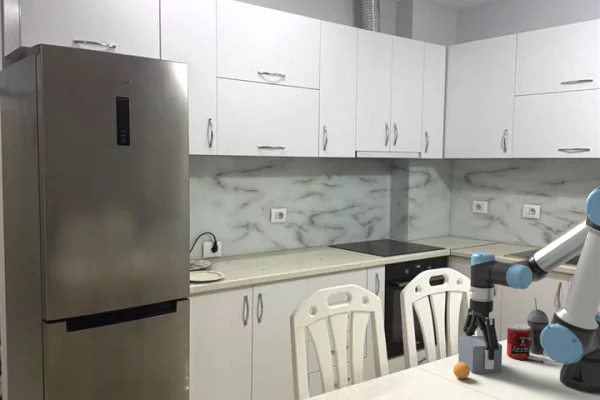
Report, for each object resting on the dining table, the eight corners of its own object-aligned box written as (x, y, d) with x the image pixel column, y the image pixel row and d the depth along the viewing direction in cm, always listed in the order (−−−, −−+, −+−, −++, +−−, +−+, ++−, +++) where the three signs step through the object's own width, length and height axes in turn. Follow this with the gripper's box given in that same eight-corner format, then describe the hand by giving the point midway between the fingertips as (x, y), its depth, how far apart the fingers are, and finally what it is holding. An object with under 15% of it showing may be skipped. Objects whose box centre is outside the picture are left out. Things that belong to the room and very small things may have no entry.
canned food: (511, 360, 190) (512, 329, 189) (503, 352, 198) (504, 322, 197) (533, 360, 189) (534, 329, 189) (524, 352, 197) (525, 322, 197)
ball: (467, 375, 175) (468, 360, 175) (471, 381, 170) (471, 365, 170) (451, 374, 176) (452, 359, 175) (454, 380, 171) (455, 365, 171)
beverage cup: (550, 356, 193) (552, 301, 192) (528, 354, 195) (530, 299, 193) (545, 349, 200) (547, 296, 199) (524, 348, 202) (525, 295, 201)
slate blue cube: (486, 360, 189) (486, 335, 188) (501, 371, 179) (502, 345, 178) (458, 361, 187) (459, 336, 187) (472, 373, 177) (473, 346, 177)
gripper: (454, 290, 193) (452, 349, 195) (489, 309, 169) (487, 376, 170) (474, 289, 194) (472, 348, 196) (511, 308, 170) (509, 374, 172)
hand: (479, 361), depth 183 cm, fingers open, 12 cm apart
